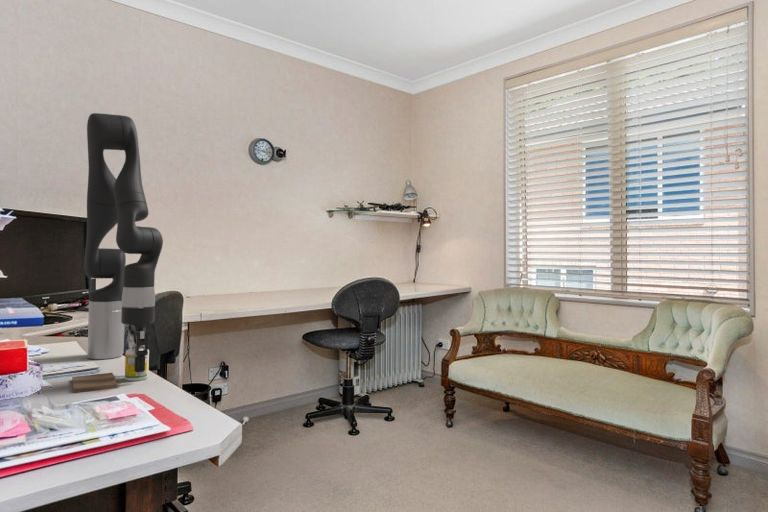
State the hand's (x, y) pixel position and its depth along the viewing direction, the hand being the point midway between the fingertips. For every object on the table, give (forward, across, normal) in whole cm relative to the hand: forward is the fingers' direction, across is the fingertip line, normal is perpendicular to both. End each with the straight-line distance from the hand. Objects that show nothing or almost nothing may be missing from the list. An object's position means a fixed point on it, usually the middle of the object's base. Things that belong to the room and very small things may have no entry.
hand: (136, 368), depth 119 cm
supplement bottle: (+3, 0, 0) cm, 3 cm away
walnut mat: (+3, 0, -9) cm, 10 cm away
